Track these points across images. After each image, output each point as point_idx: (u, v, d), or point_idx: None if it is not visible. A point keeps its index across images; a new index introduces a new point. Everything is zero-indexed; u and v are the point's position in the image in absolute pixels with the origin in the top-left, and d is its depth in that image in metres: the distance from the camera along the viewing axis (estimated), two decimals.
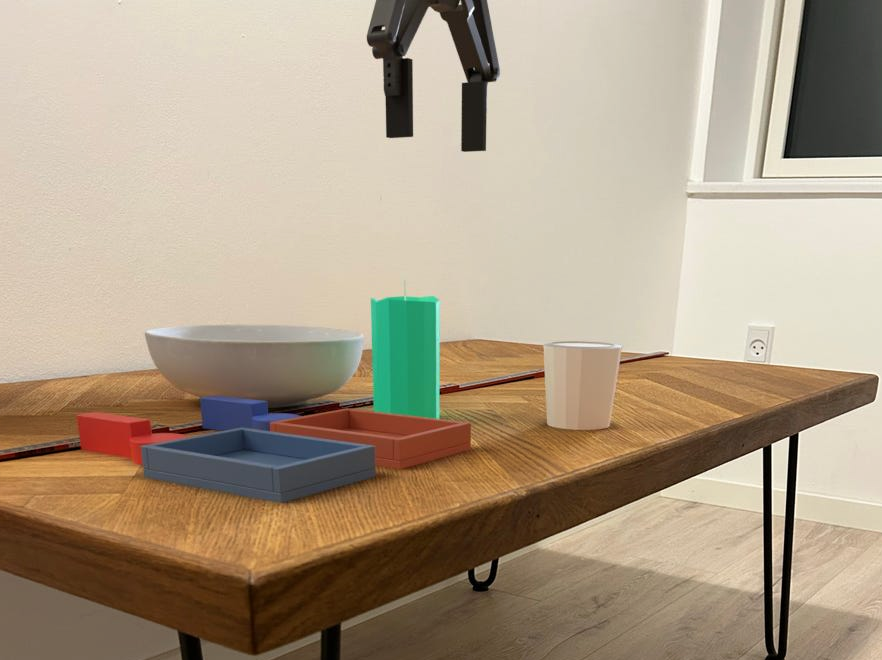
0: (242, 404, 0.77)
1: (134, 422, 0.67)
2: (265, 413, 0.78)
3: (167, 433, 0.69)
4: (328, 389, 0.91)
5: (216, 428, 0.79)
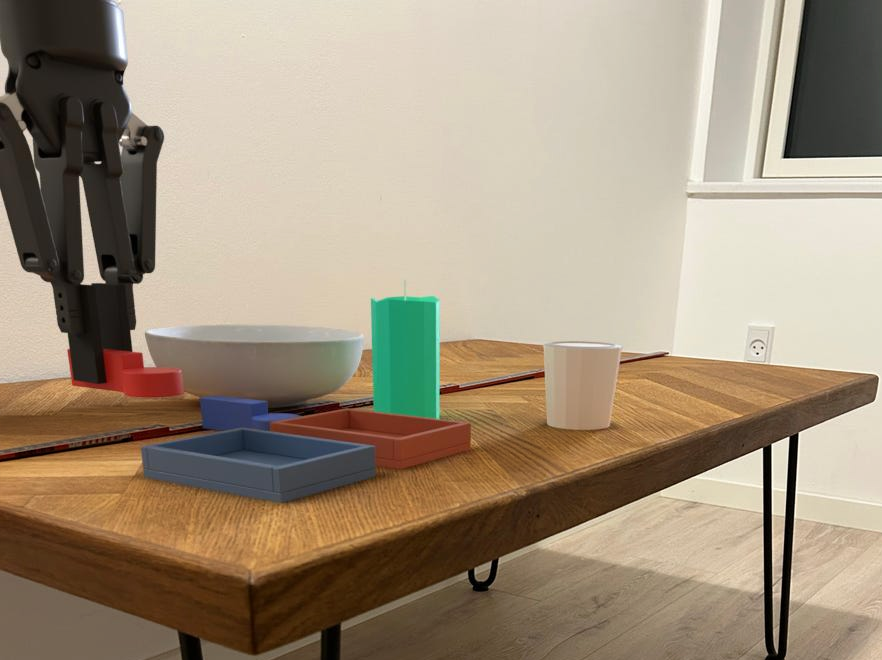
0: (242, 404, 0.77)
1: (126, 354, 0.66)
2: (265, 413, 0.78)
3: (160, 367, 0.67)
4: (328, 389, 0.91)
5: (216, 428, 0.79)
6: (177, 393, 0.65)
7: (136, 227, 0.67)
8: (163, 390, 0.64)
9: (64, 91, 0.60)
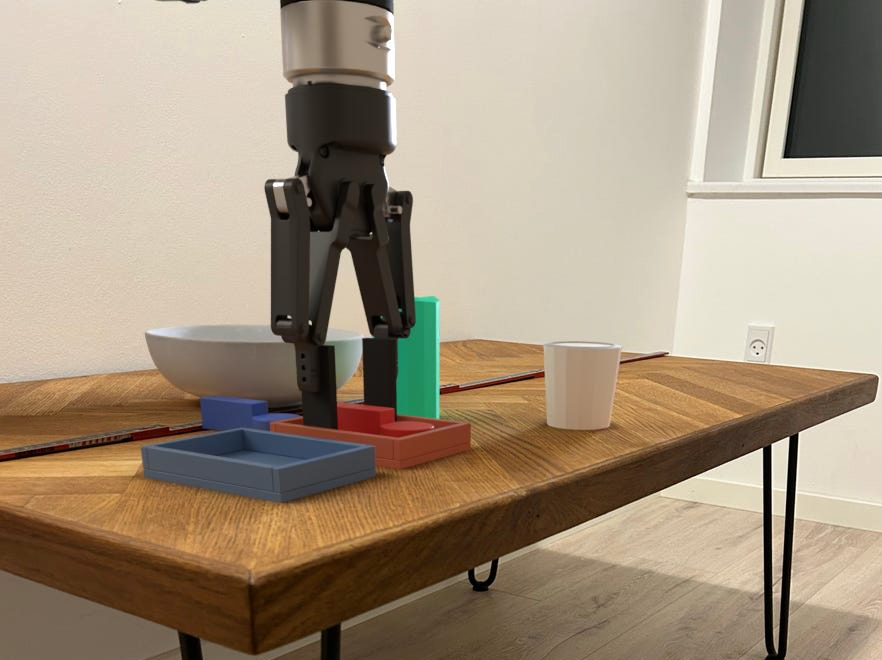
0: (242, 404, 0.77)
1: (382, 410, 0.70)
2: (265, 413, 0.78)
3: (409, 421, 0.72)
4: None
5: (216, 428, 0.79)
6: None
7: (398, 289, 0.73)
8: None
9: (344, 176, 0.65)
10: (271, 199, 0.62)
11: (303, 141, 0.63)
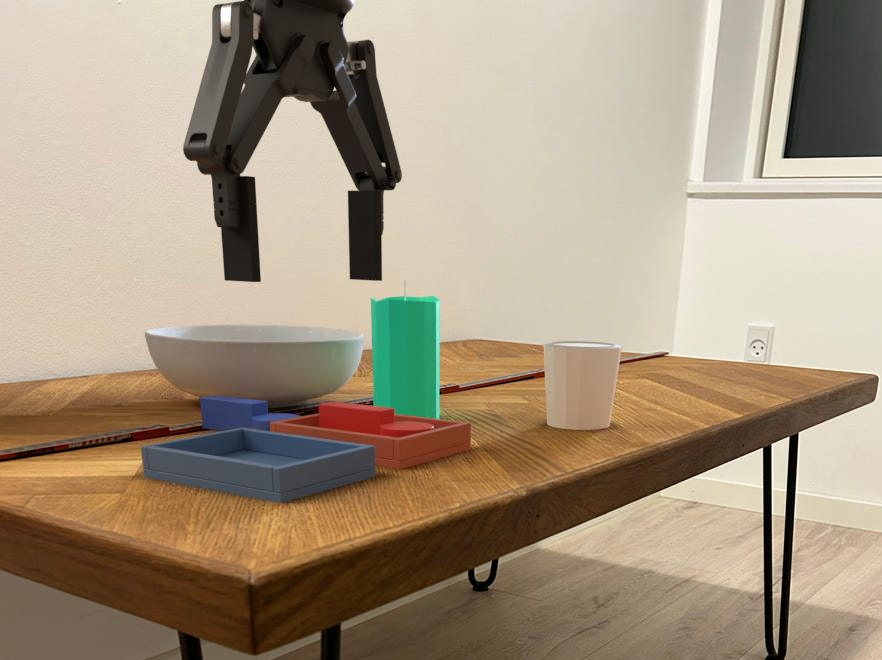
0: (242, 404, 0.77)
1: (382, 410, 0.70)
2: (265, 413, 0.78)
3: (409, 421, 0.72)
4: (328, 389, 0.91)
5: (216, 428, 0.79)
6: None
7: (378, 146, 0.73)
8: None
9: (299, 30, 0.63)
10: (216, 20, 0.60)
11: None
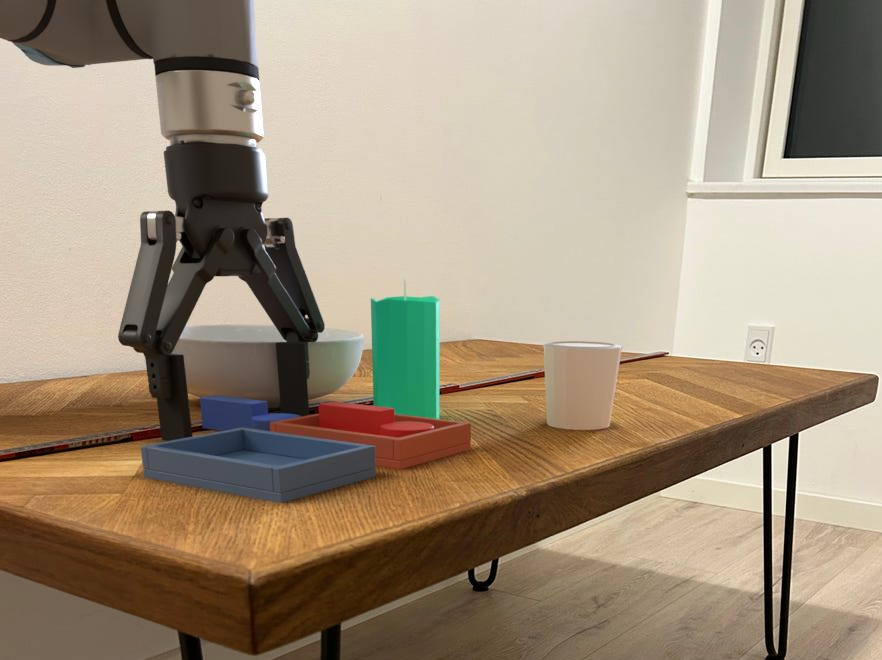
0: (242, 404, 0.77)
1: (382, 410, 0.70)
2: (265, 413, 0.78)
3: (409, 421, 0.72)
4: (328, 389, 0.91)
5: (216, 428, 0.79)
6: None
7: (301, 303, 0.82)
8: None
9: (219, 224, 0.72)
10: (144, 226, 0.68)
11: (179, 193, 0.70)
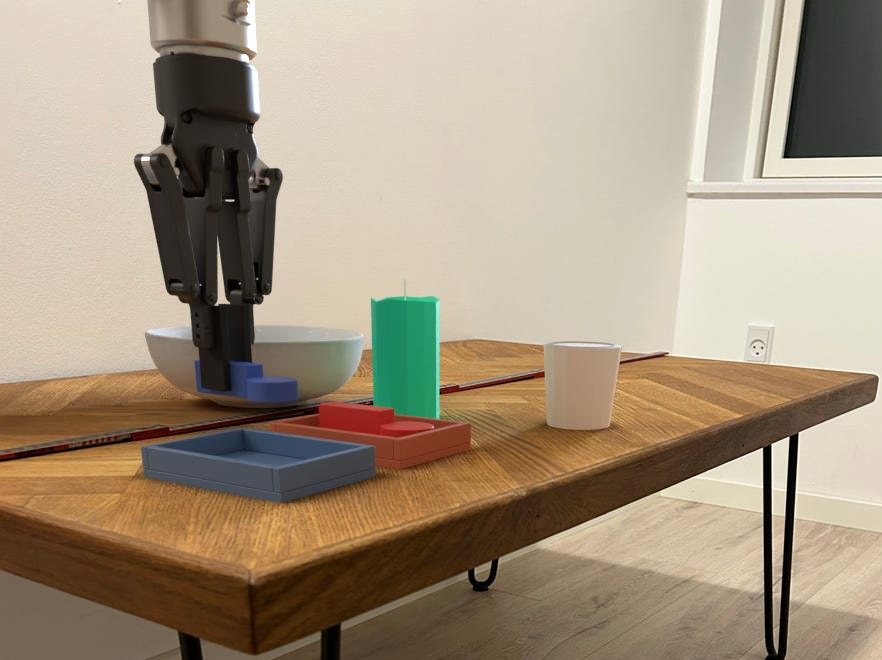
0: (237, 366, 0.76)
1: (382, 410, 0.70)
2: (260, 376, 0.77)
3: (409, 421, 0.72)
4: (328, 389, 0.91)
5: (211, 391, 0.78)
6: None
7: (257, 255, 0.77)
8: None
9: (209, 142, 0.70)
10: (142, 173, 0.68)
11: (167, 107, 0.68)
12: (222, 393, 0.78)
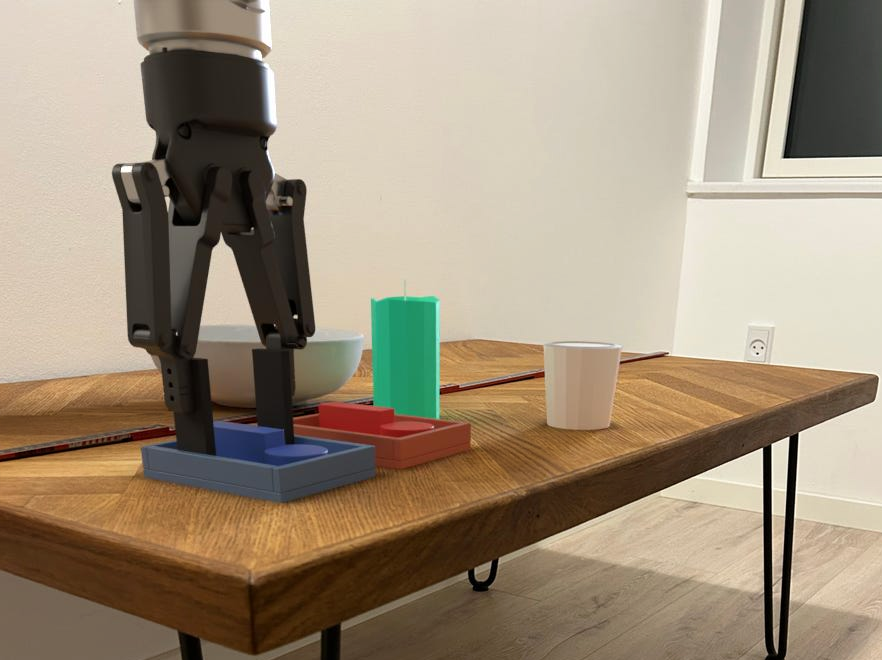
0: (253, 433, 0.61)
1: (382, 410, 0.70)
2: (281, 444, 0.62)
3: (409, 421, 0.72)
4: (328, 389, 0.91)
5: None
6: None
7: (293, 292, 0.64)
8: None
9: (213, 161, 0.55)
10: (120, 187, 0.53)
11: (160, 119, 0.53)
12: None
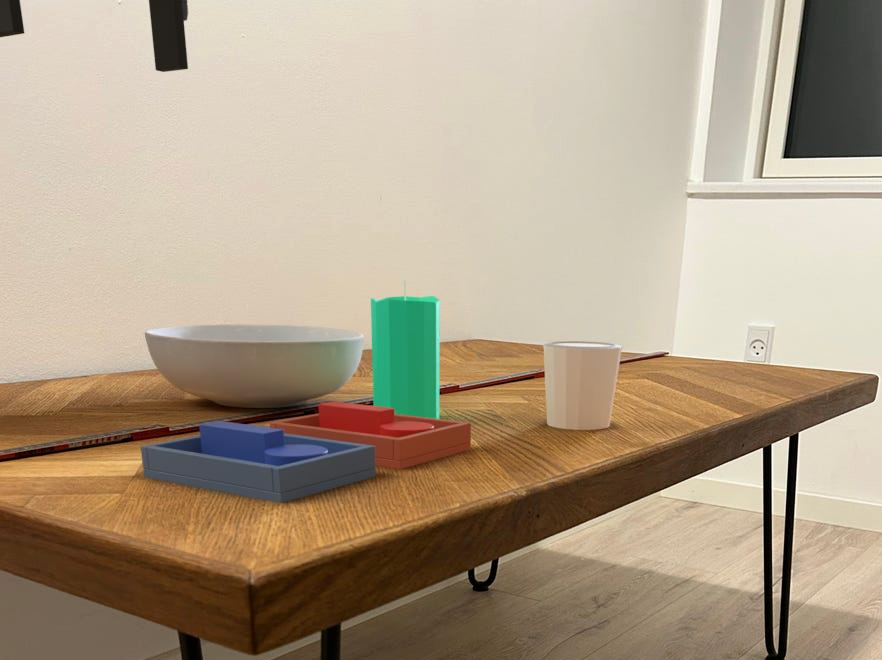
0: (253, 433, 0.61)
1: (382, 410, 0.70)
2: (281, 444, 0.62)
3: (409, 421, 0.72)
4: (328, 389, 0.91)
5: None
6: None
7: None
8: None
9: None
10: None
11: None
12: None
